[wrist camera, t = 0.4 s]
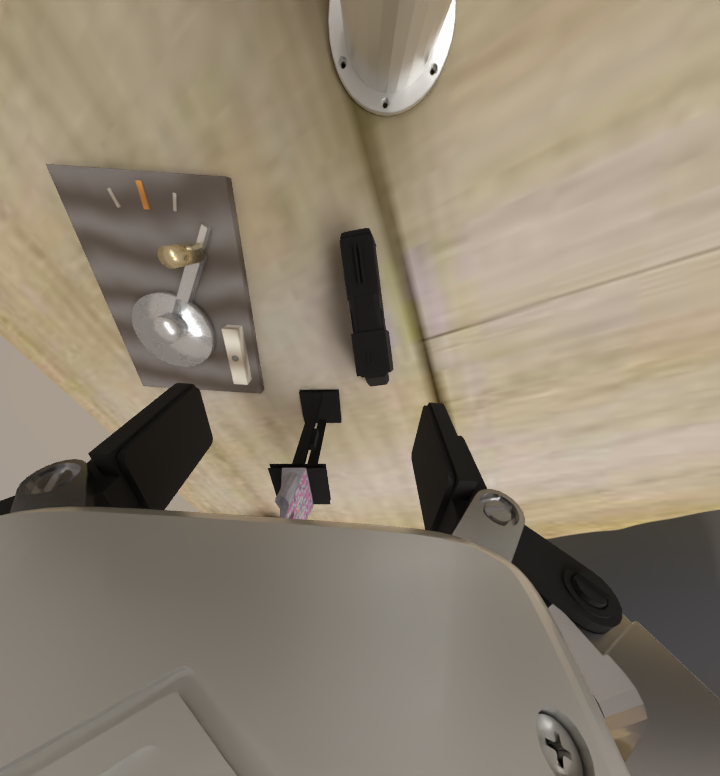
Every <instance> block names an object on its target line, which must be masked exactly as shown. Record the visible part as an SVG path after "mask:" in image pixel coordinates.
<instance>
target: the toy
mask: <svg viewBox="0 0 720 776" xmlns="http://www.w3.org/2000/svg"><path fill="white" fill-rule="evenodd" d="M340 239H341V240H340V247H341V254H342V261H343V269H344V276H345V283H346V290H347V298H348V300H349V305H350V312H351V320H352V327H353V334H351V336H352V344H353V351H354V359H355V366H356V373H357V376H361V377H365V379H366V381H367V383H368V384H369V385H370V386H377V385H385V384H387V383H388V381H389V376H388V372H391V371H392V370H393V362H392V354H391V346H390V338H389V332H388V331H387V330H386V327H385V319H384V311H383V303H382V295H381V287H380V279H379V271H378V263H377V255H376V244H375V241H374V238H373V236H372V234H371V231H370V229H369V228H364V229H359V230H354V231H348V232H344V233H341V237H340Z"/></svg>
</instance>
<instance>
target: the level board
mask: <svg viewBox="0 0 720 776" xmlns="http://www.w3.org/2000/svg"><path fill="white" fill-rule="evenodd" d="M46 166H47V168H48V170H49V173H50V175H51V177H52V179H53V182H54V184H55V186H56V188H57V191H58V193H59V195H60V198H61V200H62V202H63V204H64V207H65V209H66V211H67V213H68V216H69V218H70V220H71V223H72V225H73V227H74V229H75V232H76V234H77V236H78V238H79V241H80V243H81V245H82V248H83V250H84V252H85V254H86V257H87V259H88V261H89V263H90V266H91V268H92V270H93V273H94V275H95V277H96V279H97V282H98V284H99V286H100V288H101V291H102V293H103V295H104V298H105V300H106V302H107V304H108V307H109V309H110V311H111V313H112V316H113V318H114V320H115V323H116V325H117V327H118V329H119V332H120V334H121V336H122V339H123V341H124V343H125V345H126V348H127V350H128V352H129V354H130V357H131V359H132V361H133V364H134V366H135V368H136V370H137V373H138V375H139V377H140V379H141V382H142V384H143V386H152V387H168V388H170V387H172V386H173V385H174V384H176V383H189V384H194V385H195V386H196V388H198V389H199V390H215V391H231V392H247V393H262V392H263V390H264V386H263V380H262V373H261V367H260V361H259V354H258V348H257V341H256V335H255V329H254V322H253V316H252V310H251V303H250V297H249V291H248V284H247V278H246V271H245V265H244V259H243V252H242V246H241V240H240V233H239V227H238V221H237V214H236V208H235V202H234V195H233V189H232V182H231V178H228V177H222V176H208V175H194V174H180V173H166V172H152V171H138V170H124V169H110V168H96V167H82V166H68V165H54V164H46ZM201 224H206V225H207V226H209V227H210V228H211V231H210V234H209V238H208V241H207V244H206V247H205V249H204V250H203V251H204V254H205V255H207V258H206V261H205V265H204V268H203V271H202V274H201V278H200V281H199V284H198V287H197V290H196V294H195V297H194V300H193V302H194V303H196V304H197V305H198V306H199V307H200V308H201V309H202V310H203V311H204V312H205V313H206V314H207V316H208V317H209V319H210V320H211V322H212V324H213V326H214V329H215V332H216V346H215V349H214V351H213V353H212V354H211V356H209V357H208V358H207V359H206V360H205V361H204V362H202V363H201V364H198V365H196V366H191V367H182V366H176V365H173V364H169V363H167V362H165V361H163V360H161V359H159V358H158V357H156V356H155V355H154V354H152V353H151V352H150V351H149V350H148V349H147V348H146V347H145V346H144V345H143V344H142V342H141V341H140V340H139V338H138V337H137V335H136V333H135V331H134V328H133V324H132V310H133V307H134V305H135V303H136V302H137V301H138V300H139V299H140V298H142V297H144V296H146V295H149V294H152V293H155V292H160V291H167V292H173V293H177V294H178V290H179V286H180V283H181V279H182V275H183V272H184V268H185V266H184V267H179V268H175V269H170V268H167V267H165V266H164V265H163V264H162V263H161V262H160V260H159V258H158V254H157V252H158V249H159V248H160V247H161V246H168V245H178V244H188V243H195V244H196V241H197V238H198V234H199V231H200V227H201Z"/></svg>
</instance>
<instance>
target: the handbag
mask: <svg viewBox="0 0 720 776" xmlns="http://www.w3.org/2000/svg"><path fill="white" fill-rule="evenodd" d="M299 394H300V399H301V405H302V410H303V416H304V421H305V425H304V428H303V431H302V434H301V438H300V441H299V444H298V447H297V450H296V453H295V457H294V460H293V463H292V464H270V467H271V468H268V470H269V473H270V476H271V480H272V483H273V486H274V489H275V492H276V496H277V497H276V499H275V502H276V504H277V505H278V506H279V508H280V518H289V519H303V520H307V518H308V516H309V514H310V512H311V510H312V508H313V504H330V500H331V498H330V491H329V484H328V477H327V470H326V464H318V460H319V455H320V450H321V446H322V441H323V436H324V431H325V426H326V423H341V411H340V399H339V390H300V392H299ZM316 423H318V425H317V429H314V427H315V424H316ZM308 450H311V453H310V457H309V461H308V464H305V462H306V458H307V454H308Z"/></svg>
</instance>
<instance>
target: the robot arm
mask: <svg viewBox="0 0 720 776" xmlns="http://www.w3.org/2000/svg"><path fill="white" fill-rule="evenodd" d="M455 18H456V0H329V14H328V26H329V40H330V46H331V52H332V56H333V60H334V64H335V67H336V70H337V73H338V75H339V77H340V80H341V82H342V84H343V86H344V87H345V89H346V91H347V92H348V94H349V95H350V96H351V97H352V98H353V100H354V101H355V102H356V103H357V104H358V105H360V106H361V107H362V108H364V109H365V110H366V111H369V112H371V113H373V114H376V115H381V116H393V115H398V114H401V113H403V112H406V111H408V110H410V109H411V108H413V107H414V106H416V105H417V104H418V103H419V102H420V101H421V100H422V99H423V98H424V97H425V96H426V95H427V94H428V92H429V91H430V90H431V88H432V87H433V85H434V84H435V82H436V81H437V79H438V77H439V75H440V73H441V71H442V69H443V66H444V64H445V61H446V59H447V57H448V53H449V50H450V46H451V43H452V39H453V33H454V26H455ZM342 64H345V65H346V67H345V68H344V69H342V68H341V65H342ZM431 70H432V71H433V72H434V75H433V76H432V75H430V71H431ZM384 103H386V104H387V108H383V104H384ZM212 441H213V437H212V433H211V429H210V426H209V422H208V418H207V415H206V411H205V408H204V404H203V400H202V397H201V393H200V390H199V389H198V388H196V386H195V385H194V384H189V383H176V384H174V385H173V386H172V387H170V388H169V389H168V390H167V391H165V392H164V393H163V394H162V395H160V396H159V397H158V398H157V399H155V400H154V401H153V402H152V403H151V404H149V405H148V406H147V407H146V408H144V409H143V410H142V411H141V412H139V413H138V414H137V415H136V416H134V417H133V418H132V419H131V420H129V421H128V422H127V423H126V424H124V425H123V426H122V427H121V428H119V429H118V430H117V431H116V432H114V433H113V434H112V435H111V436H110V437H108V438H107V439H106V440H104V441H103V442H102V443H101V444H99V445H98V446H97V447H96V448H94V449H93V450H92V451H91V452H90V453H89V455H90V457H91V460H90V461H89V462H88V463H86V462H84V461H83V460H77V459H72V460H64V461H60V462H56V463H53V464H51V465H48V466H46V467H43V468H41V469H40V470H37V471H36V472H34V473H33V474H31V475H30V476H28V477H27V478H26V479H25V480H24V481H23V482H21V484H20V485H19V487H18V488H17V491H16V494H15V496H13V497H10V498H7V499H4V500H2V501H0V776H720V699H719V698H718V697H717V696H716V695H714V694H713V693H712V692H711V691H710V690H709V689H708V688H707V687H706V686H705V685H704V684H703V683H702V682H701V681H700V680H699V679H698V678H696V677H695V676H694V675H693V674H692V673H691V672H690V671H689V670H688V669H687V668H686V667H685V666H684V665H683V664H682V663H680V661H678V660H677V659H676V658H675V657H674V656H673V655H672V654H671V653H670V652H669V651H668V650H667V649H666V648H665V647H664V646H663V645H662V644H661V643H659V642H658V641H657V640H656V639H655V638H654V637H653V636H652V635H651V634H650V633H649V632H648V631H647V630H646V629H644V627H642V626H641V625H640V624H639V623H638V622H637V621H635V622H634V623H631V622H630V621H629V620H628V619H627V618H626V617H625V616H624V615H623V614H622V608H621V606H620V603H619V601H618V599H617V597H616V596H615V594H614V593H613V591H612V590H611V588H610V587H609V586H608V585H607V584H606V583H605V582H604V581H603V580H602V579H601V578H600V577H599V576H597V575H596V574H595V573H593V572H592V571H591V570H589V569H588V568H587V567H585V566H584V565H582V564H581V563H579V562H578V561H576V560H575V559H574V558H572V557H571V556H569V555H568V554H566V553H565V552H563V551H562V550H560V549H559V548H558V547H556V546H555V545H553V544H552V543H550V542H549V541H547V540H546V539H544V538H543V537H542V536H540V535H539V534H537V533H536V532H534V531H533V530H531V529H530V528H528V527H527V526H526V525H524V524H525V517H524V514H523V511H522V510H521V508H520V507H519V505H518V504H517V503H516V502H515V501H514V500H513V499H512V498H510V497H509V496H507V495H506V494H504V493H502V492H500V491H497V490H493V489H487V487H486V485H485V483H484V481H483V479H482V477H481V474H480V472H479V470H478V468H477V466H476V464H475V462H474V459H473V457H472V455H471V453H470V451H469V449H468V446H467V444H466V442H465V440H464V438H463V437H462V436H458V435H457V433H456V431H455V429H454V426H453V424H452V422H451V420H450V417H449V415H448V413H447V410H446V408H445V406H444V404H442V403H429V404H428V406H424V407H423V410H422V414H421V418H420V422H419V426H418V430H417V434H416V438H415V442H414V446H413V450H412V464H413V469H414V474H415V479H416V484H417V489H418V495H419V500H420V505H421V510H422V515H423V520H424V525H425V530H421V529H414V528H404V527H393V526H382V525H371V524H357V523H344V522H330V521H317V520H303V519H289V518H275V517H260V516H246V515H231V514H216V513H200V512H183V511H167V510H165V508H166V507H167V505H168V504H169V503H170V501H171V500H172V499H173V497H174V496H175V494H176V493H177V492H178V490H179V489H180V488H181V486H182V485H183V483H184V482H185V481H186V479H187V478H188V476H189V475H190V474H191V472H192V471H193V470H194V468H195V467H196V465H197V464H198V463H199V461H200V460H201V458H202V457H203V456H204V454H205V453H206V452H207V450H208V449H209V447H210V446H211V444H212ZM590 690H591V691H590ZM591 692H592V693H593V695H594V696H595V698H596V699H597V701H598V702H599V704H600V706H601V709H602V711H603V714H604V716H605V719H606V722H605V720H604V718H603V715H602V713H601V711H600V709H599V707H598V705H597V703H596V701H595V699H594V697H593V695H592V693H591ZM538 713H539V714H538Z"/></svg>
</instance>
